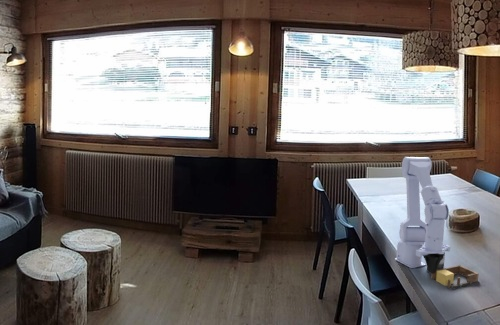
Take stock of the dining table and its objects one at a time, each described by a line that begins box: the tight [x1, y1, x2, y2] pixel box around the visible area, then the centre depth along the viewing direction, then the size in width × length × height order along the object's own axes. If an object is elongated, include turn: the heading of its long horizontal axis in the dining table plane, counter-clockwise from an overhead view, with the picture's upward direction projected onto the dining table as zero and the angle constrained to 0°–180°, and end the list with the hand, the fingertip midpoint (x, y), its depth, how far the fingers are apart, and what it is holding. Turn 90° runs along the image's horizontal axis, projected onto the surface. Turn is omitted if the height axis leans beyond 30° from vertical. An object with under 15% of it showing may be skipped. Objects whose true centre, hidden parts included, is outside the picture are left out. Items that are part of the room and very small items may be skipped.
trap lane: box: [430, 264, 480, 290], centre depth 144 cm, size 9×15×3 cm, turn 112°
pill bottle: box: [426, 251, 446, 274], centre depth 150 cm, size 6×6×11 cm
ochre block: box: [435, 269, 455, 286], centre depth 142 cm, size 4×4×4 cm
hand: (431, 272), depth 139 cm, fingers closed
